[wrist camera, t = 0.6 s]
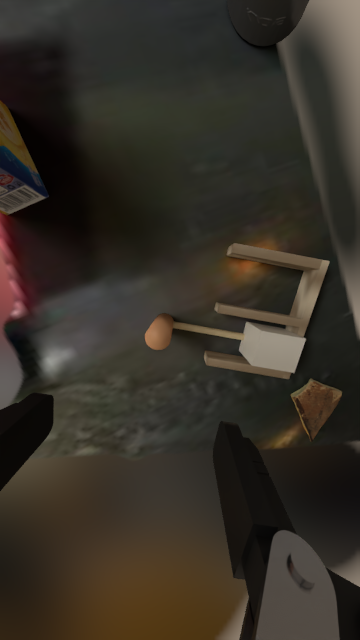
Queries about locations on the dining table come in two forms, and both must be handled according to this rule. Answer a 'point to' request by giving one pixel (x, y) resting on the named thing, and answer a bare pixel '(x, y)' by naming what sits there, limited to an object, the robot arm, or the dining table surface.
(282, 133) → the dining table surface
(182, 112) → the dining table surface
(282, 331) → the corded block
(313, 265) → the birch lanes
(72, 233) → the dining table surface
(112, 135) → the dining table surface
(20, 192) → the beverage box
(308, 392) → the shard
